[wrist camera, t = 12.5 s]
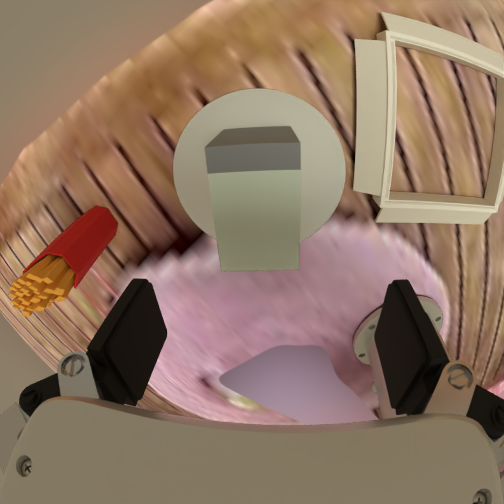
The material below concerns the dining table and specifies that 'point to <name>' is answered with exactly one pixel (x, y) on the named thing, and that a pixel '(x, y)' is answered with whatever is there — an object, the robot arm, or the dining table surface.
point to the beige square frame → (384, 123)
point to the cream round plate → (262, 115)
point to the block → (256, 197)
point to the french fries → (64, 261)
